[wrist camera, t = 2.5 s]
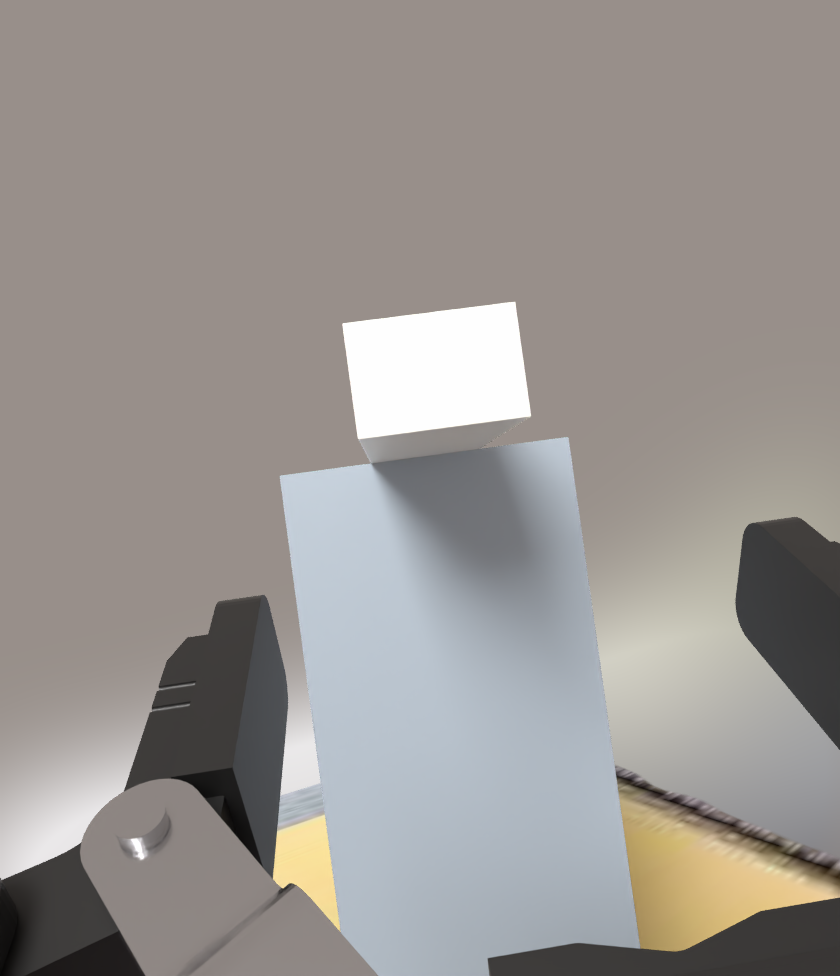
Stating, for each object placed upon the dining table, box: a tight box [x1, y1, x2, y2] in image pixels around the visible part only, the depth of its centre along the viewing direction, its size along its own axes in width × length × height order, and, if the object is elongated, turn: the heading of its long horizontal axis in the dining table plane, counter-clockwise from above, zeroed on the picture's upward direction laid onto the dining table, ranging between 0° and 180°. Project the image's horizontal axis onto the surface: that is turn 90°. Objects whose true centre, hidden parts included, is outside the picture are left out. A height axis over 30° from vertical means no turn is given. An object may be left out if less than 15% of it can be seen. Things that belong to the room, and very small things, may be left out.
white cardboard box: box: [343, 302, 531, 464], centre depth 31 cm, size 26×4×6 cm, turn 2°
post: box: [280, 437, 640, 976], centre depth 37 cm, size 17×13×32 cm
